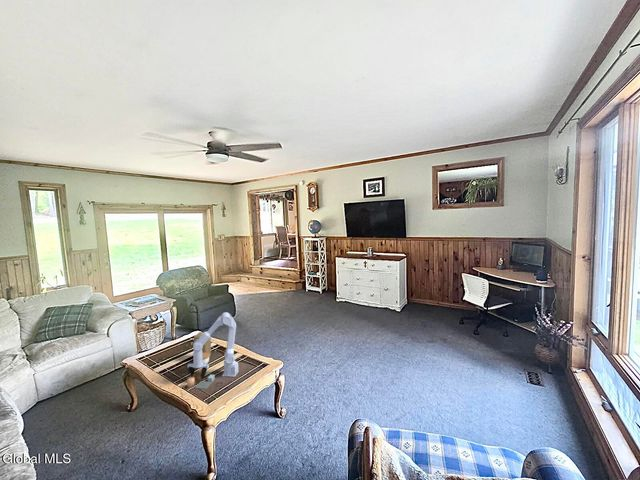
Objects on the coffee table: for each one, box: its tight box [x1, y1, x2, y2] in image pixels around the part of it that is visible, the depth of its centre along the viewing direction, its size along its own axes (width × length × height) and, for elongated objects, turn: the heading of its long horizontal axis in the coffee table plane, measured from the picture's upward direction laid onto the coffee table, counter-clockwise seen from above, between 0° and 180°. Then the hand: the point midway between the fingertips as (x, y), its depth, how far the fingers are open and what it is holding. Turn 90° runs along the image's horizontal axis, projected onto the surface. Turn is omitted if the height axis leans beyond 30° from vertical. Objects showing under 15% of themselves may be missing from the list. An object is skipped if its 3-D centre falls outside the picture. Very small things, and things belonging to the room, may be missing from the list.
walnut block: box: [193, 370, 204, 383], centre depth 194 cm, size 5×5×5 cm
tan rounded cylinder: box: [186, 376, 196, 389], centre depth 187 cm, size 4×4×5 cm
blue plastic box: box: [207, 374, 216, 383], centre depth 194 cm, size 3×4×3 cm
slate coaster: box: [194, 380, 213, 390], centre depth 188 cm, size 8×8×1 cm
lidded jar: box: [202, 352, 210, 365], centre depth 215 cm, size 11×11×9 cm
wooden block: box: [193, 331, 212, 358], centre depth 225 cm, size 10×10×20 cm
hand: (198, 377), depth 194 cm, fingers open, 7 cm apart
